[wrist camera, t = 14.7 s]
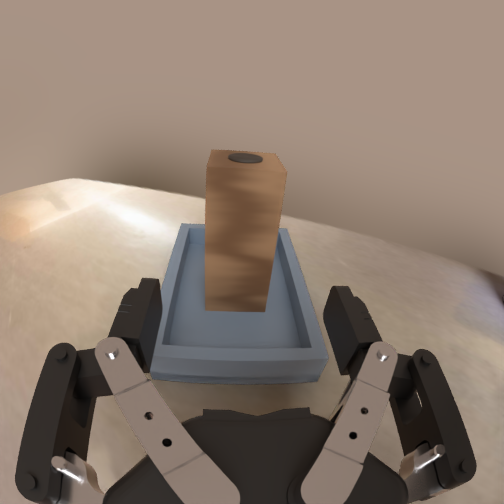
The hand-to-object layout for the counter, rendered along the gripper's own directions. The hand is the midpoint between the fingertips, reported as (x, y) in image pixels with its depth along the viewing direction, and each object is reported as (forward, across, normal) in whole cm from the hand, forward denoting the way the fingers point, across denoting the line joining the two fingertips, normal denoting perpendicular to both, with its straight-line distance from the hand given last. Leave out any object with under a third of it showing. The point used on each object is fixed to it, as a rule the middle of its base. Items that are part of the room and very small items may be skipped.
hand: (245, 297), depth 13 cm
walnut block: (+10, 0, +8) cm, 13 cm away
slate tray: (+10, 0, +9) cm, 13 cm away
